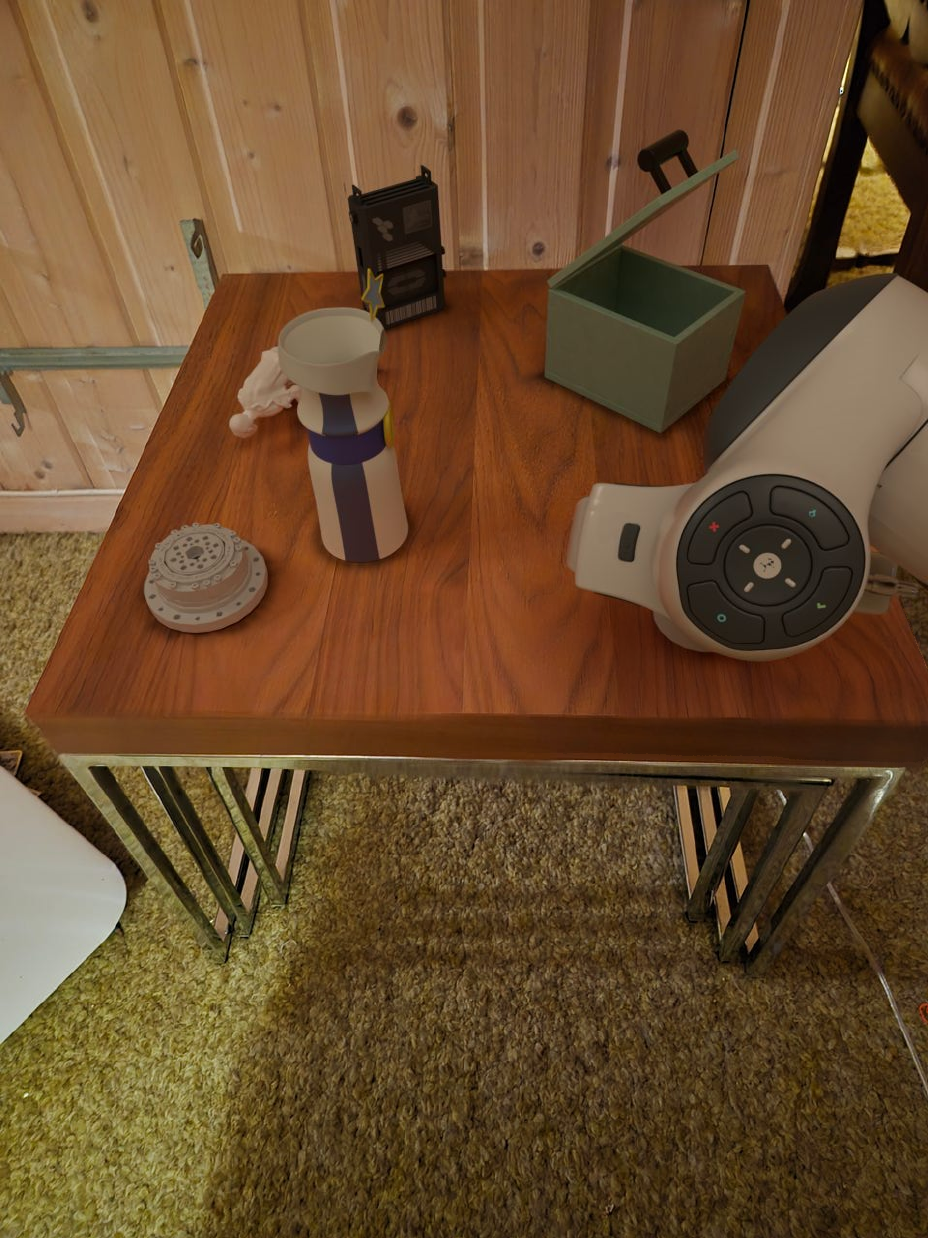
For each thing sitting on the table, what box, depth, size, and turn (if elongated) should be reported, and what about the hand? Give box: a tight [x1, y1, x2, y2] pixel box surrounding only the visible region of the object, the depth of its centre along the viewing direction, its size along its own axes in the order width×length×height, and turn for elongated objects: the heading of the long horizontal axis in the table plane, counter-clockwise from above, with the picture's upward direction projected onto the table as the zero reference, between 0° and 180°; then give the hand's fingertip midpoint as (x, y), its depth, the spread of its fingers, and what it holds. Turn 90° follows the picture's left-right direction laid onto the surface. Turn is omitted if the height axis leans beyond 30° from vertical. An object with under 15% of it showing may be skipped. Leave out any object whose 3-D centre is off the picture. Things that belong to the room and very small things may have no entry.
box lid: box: [546, 129, 740, 289], centre depth 75 cm, size 15×12×5 cm
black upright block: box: [347, 164, 447, 331], centre depth 91 cm, size 10×5×15 cm, turn 120°
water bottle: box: [277, 269, 409, 564], centre depth 65 cm, size 8×9×25 cm
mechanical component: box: [143, 522, 269, 634], centre depth 69 cm, size 10×4×10 cm
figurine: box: [228, 345, 302, 439], centre depth 84 cm, size 7×8×18 cm
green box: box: [544, 243, 747, 434], centre depth 83 cm, size 15×12×10 cm
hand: (715, 557), depth 61 cm, fingers closed on can, 7 cm apart
